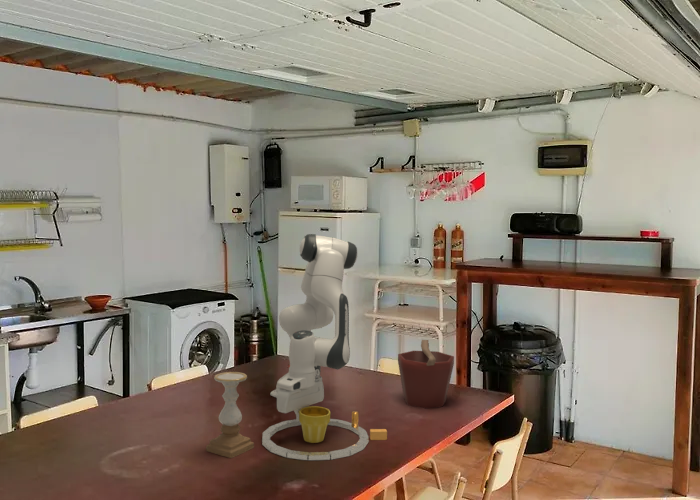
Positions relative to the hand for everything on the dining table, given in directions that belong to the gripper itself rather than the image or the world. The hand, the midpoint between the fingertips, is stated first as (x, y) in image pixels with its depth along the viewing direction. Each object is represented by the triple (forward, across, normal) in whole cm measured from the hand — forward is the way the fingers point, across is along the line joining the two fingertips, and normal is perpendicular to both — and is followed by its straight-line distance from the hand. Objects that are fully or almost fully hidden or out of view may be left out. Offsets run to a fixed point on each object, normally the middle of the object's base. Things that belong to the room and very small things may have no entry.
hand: (301, 419), depth 213 cm
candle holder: (+6, +24, -8) cm, 26 cm away
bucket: (+6, -61, +11) cm, 63 cm away
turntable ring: (+5, 0, +6) cm, 8 cm away
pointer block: (+6, -15, +22) cm, 27 cm away
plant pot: (+6, 0, +6) cm, 8 cm away
